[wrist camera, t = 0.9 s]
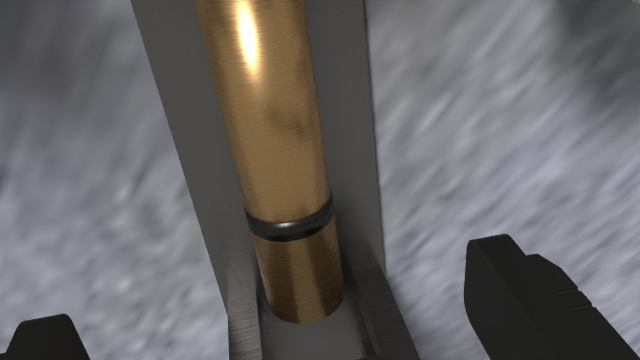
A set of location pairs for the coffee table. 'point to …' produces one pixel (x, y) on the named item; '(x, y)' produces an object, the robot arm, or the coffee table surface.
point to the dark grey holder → (227, 203)
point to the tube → (277, 149)
